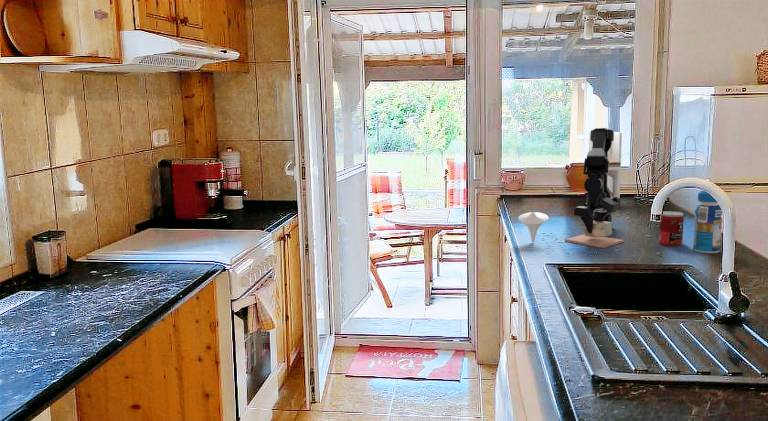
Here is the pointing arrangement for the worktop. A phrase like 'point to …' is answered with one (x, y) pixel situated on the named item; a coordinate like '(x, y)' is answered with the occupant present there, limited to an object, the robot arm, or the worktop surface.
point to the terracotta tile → (594, 241)
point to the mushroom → (533, 222)
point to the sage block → (608, 228)
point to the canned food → (671, 228)
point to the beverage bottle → (707, 224)
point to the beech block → (596, 229)
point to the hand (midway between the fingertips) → (594, 232)
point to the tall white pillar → (613, 164)
